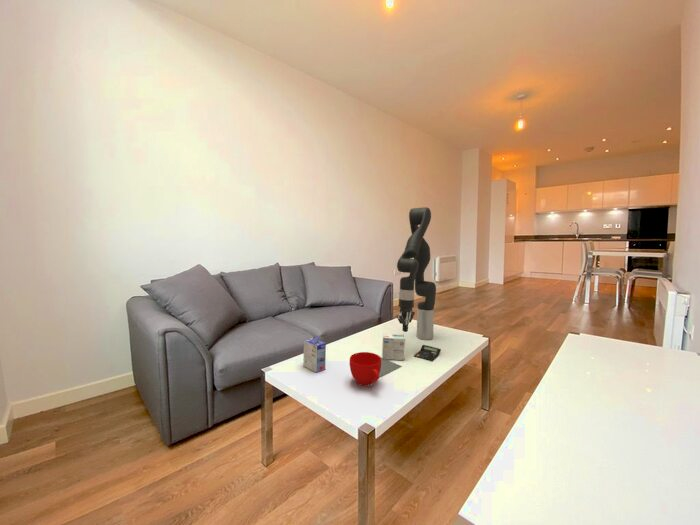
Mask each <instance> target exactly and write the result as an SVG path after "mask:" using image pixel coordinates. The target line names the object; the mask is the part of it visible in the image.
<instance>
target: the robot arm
mask: <svg viewBox="0 0 700 525" xmlns="http://www.w3.org/2000/svg"><path fill="white" fill-rule="evenodd" d="M408 218H409V225H410V226H409V227H410V232H411V235H410V236H409V237H408V239H407V242H406V245H405V248H404V251H403V253H402V254H401V256H400V257H399V259H398V260H397V262H396V270H397V271H398V272H400V273H407V274H409V275H408V276H404V277H401V278H400V280H399V292H398V307H399V314H396V316H395V317H396V318H397V320H398V322H399V324H400V325H402V332H404V333H407V332H409V324H410V323H411V322H412V321H413V319H414V317H415V314H416V313H417V314H416V338H417V339H419V340H423V341H427V340H432V339H433V337H434V330H435V328H434V323H435V322H434V315H435V314H434V313H435V311H434V310H435V309H434V308H435V304H436V296H437V286H436V284H435V282H432V281H427V280H425V270H426V269H427V267H428V266H429V264H430V261H431V249H430V246H429V243H428V242H427V241H426V239H425V238H424V236H425V234H426V232H427V230H428V228H429V225H430V222H431V220H432V211H431V210H430V208H429V207H427V206H426V207H424V206H423V207H414V208H411V209H410V210H409V213H408ZM415 294H416V295H417V296H419V297H422V298H423V297H424V298H425V299H424V301H420V302H418V303H417V307H416V308H417V310H416V311H417V312H414V311H413V309H414V307H415Z"/></svg>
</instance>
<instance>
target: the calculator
mask: <svg viewBox="0 0 700 525" xmlns="http://www.w3.org/2000/svg"><path fill="white" fill-rule="evenodd" d="M441 350H442V349H441V348H439V347H434V346H430V345H426V344H422V346H421V348H420V350H419V351H418V352H416V353H415V354H414V355H413V357H414V358H418V359H422V360H424V361H428V362H434V361H435V360H436V359H437V358H438V357H439V355H440V352H441Z"/></svg>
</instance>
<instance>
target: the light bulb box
mask: <svg viewBox="0 0 700 525" xmlns="http://www.w3.org/2000/svg"><path fill="white" fill-rule="evenodd" d="M405 338H406V337H405V334H402V333H401V334H399V333H382V354H381V356H382V357H381V358H382V359H386V360H399V361H404V360H405V347H406V339H405Z"/></svg>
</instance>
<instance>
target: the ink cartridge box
mask: <svg viewBox="0 0 700 525" xmlns="http://www.w3.org/2000/svg"><path fill="white" fill-rule="evenodd" d="M320 338H321V337H320V336H319V335H317V334H314V335H313V337H311V338H308V339H305V340H303V367H305V368H306V369H308V370H311V371H313V372H314V373H319V372H322V371H325V370H326V357H327V356H326V355H327V354H326V350H327V349H326V346H327V343H326V342H324V341H321V340H320Z"/></svg>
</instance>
